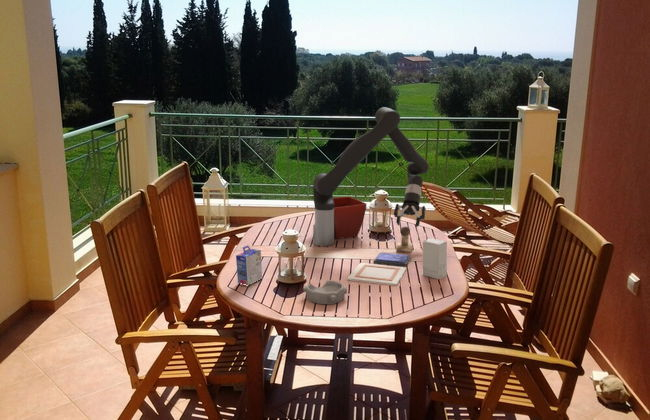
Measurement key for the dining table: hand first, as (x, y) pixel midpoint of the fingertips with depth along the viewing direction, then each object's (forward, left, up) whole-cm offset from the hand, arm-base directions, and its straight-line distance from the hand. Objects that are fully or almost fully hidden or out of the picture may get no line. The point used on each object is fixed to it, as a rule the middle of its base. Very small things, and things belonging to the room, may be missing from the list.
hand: (407, 225), depth 292 cm
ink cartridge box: (-50, -65, -11) cm, 83 cm away
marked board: (-4, -41, -10) cm, 43 cm away
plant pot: (-35, +10, -11) cm, 38 cm away
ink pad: (-2, -22, -10) cm, 25 cm away
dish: (-16, -72, -11) cm, 75 cm away
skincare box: (+18, -35, -11) cm, 41 cm away
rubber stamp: (0, -5, -10) cm, 12 cm away
